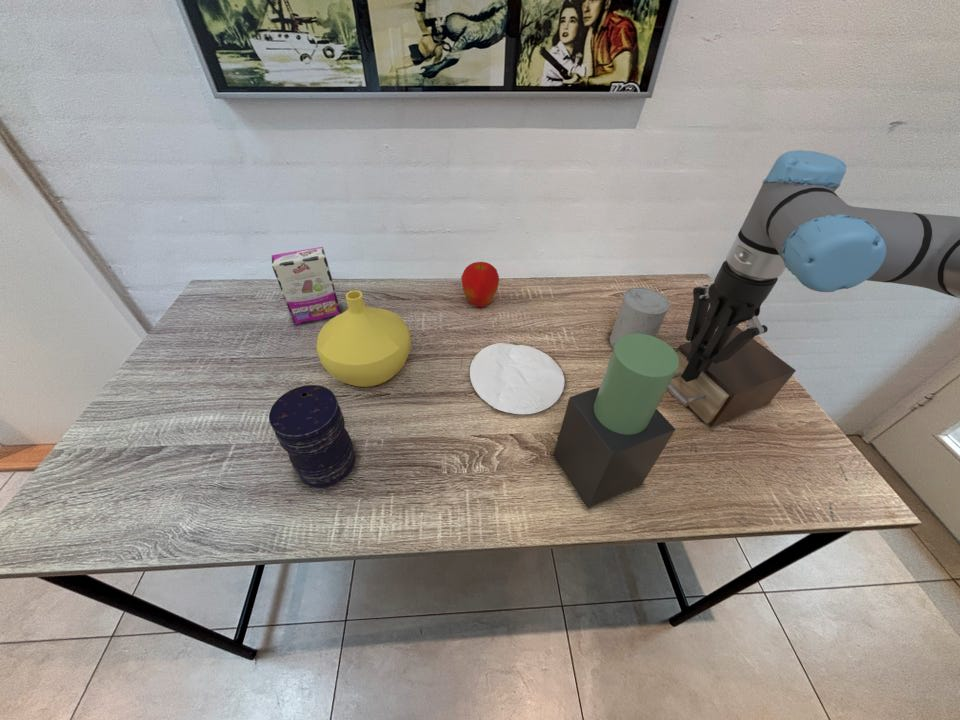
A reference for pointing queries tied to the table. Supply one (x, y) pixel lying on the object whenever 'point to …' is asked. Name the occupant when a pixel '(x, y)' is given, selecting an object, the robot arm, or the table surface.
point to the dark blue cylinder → (314, 435)
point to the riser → (606, 451)
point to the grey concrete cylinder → (640, 313)
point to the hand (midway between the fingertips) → (689, 377)
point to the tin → (634, 383)
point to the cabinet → (746, 378)
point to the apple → (480, 283)
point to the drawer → (697, 392)
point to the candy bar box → (306, 285)
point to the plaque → (516, 378)
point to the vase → (363, 344)
